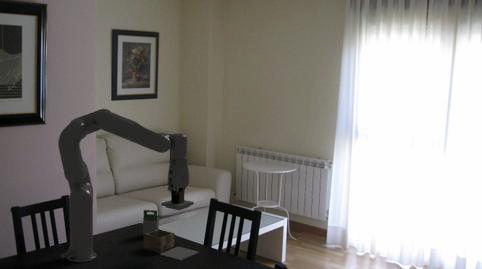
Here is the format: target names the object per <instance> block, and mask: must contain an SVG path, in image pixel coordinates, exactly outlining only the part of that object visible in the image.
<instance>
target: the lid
mask: <svg viewBox="0 0 482 269" xmlns="http://www.w3.org/2000/svg"><path fill="white" fill-rule="evenodd" d="M177 195H178V204H176V203H172V194H171V193H170V200H167V201H162V202H161V207H165V208H166V209H172V210H176V211H182V210H184V209H187V208H190V207H191V206H193V205H195V202H194V201H190V200H185V192H184V191H178V194H177Z"/></svg>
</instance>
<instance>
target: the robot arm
mask: <svg viewBox="0 0 482 269" xmlns="http://www.w3.org/2000/svg"><path fill="white" fill-rule="evenodd" d="M101 130H102V131H104V132H106V133H109V134H112V135H114V136H117V137H119V138H122V139H124V140H127V141H129V142H131V143H134V144H137V145H139V146H141V147H144V148H146V149H149V150H151V151H154V152H156V153H161V154H163V153H164V154H165V153H167V152H168V151H169V166H168V173H167V186H168V187H167V191H168V192H170V195H171V194H172V203H176V204H178V195H177V194H178V191H184V193H185V190H186V188H187V187H188V186H189V184H190V173H189V172H190V171H189V166H188V164H187V163H188V162H187V160H188V155H187V154H188V137H187V135H186V134H184V133H172V134H171V133H164V132H156V131H153V130H151V129H148V128H146V127H144V126H143V125H141V124H140V123H138V122H137V121H135V120H133V119H130V118H126V117H124V116H122V115H119V114H117V113H115V112H112V111H111V110H110V109H107V108H101V109H98V110H95V111H92V112H90V113H87V114H84V115H82V116H79V117H76V118H74V119H72V120H71V121H70V122H69V124H68V125H66V126H65V127H64V128H63V130H62V131H61V133H60V135H59V137H58V142H57V143H58V150H59V151H58V152H59V155H60V159H61V164H62V170H63V175H64V177H65V180H67V184H68V187H69V190H70V194H69V197H68V198H69V200H68V201H69V202H68V203H69V205H68V206H69V248H68V249H67V251H66V252H63V253H61V254H60V258H61V259H66V260H67V261H69V262H72V263H85V262H86V263H87V262H90V261H93V260H95V259H96V258H97V256H98V255H97V253H96V252H95V251H94V247H93V246H94V244H93V243H94V239H93V238H94V235H93V234H94V218H93V217H94V213H93V212H94V209H93V208H94V207H93V206H94V189H93V184H92V181H91V177H90V172H89V168H88V164H87V163H86V162H85V161H84V159H83V155H82V150H81V147H80V144H81V141H82V140H83V139H85V138H86V137H87V136H88V135H91V134H93V133H95V132H96V133H97V132H98V131H101Z"/></svg>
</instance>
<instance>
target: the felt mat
mask: <svg viewBox="0 0 482 269" xmlns="http://www.w3.org/2000/svg"><path fill="white" fill-rule="evenodd" d="M199 253H200V251H197V250H193V249H189V248H185V247H183V246H176V247H175V248H173V249H171V250H168V251H166V252H163V253H161V254H160V253H159V256H163V257H167V258H168V259H169V258H170V259H172V260H176V261H180V262H181V261H184V260H186V259H188V258H191V257H192V256H195V255H197V254H199Z"/></svg>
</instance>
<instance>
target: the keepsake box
mask: <svg viewBox="0 0 482 269" xmlns="http://www.w3.org/2000/svg"><path fill="white" fill-rule="evenodd" d="M175 242H176V233H175V232H171V231H167V230H163V229H160V228H159V229H158V230H155V231H152V232H149V233H146V234H144V236H143V250H146V251H150V252H153V253H157V254H159V255H160V254H161V253H163V252H166V251H168V250H171V249H173V248H176V247H175Z"/></svg>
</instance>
